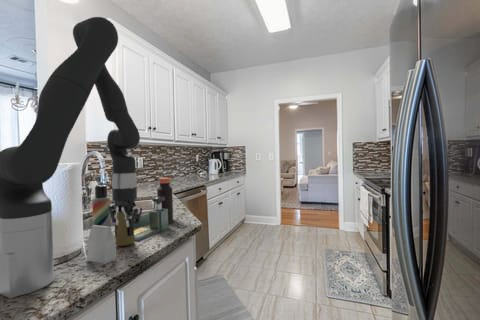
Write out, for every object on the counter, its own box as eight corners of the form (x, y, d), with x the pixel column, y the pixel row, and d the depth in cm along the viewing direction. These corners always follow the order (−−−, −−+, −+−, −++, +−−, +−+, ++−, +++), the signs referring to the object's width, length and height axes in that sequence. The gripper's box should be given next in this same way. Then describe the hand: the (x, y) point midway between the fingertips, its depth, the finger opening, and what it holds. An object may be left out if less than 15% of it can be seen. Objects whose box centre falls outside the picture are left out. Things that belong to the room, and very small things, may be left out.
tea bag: (105, 264, 66) (104, 229, 65) (87, 260, 68) (86, 227, 67) (115, 258, 69) (114, 225, 69) (99, 255, 71) (98, 223, 71)
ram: (159, 219, 92) (158, 199, 92) (150, 218, 94) (149, 198, 94) (167, 216, 97) (166, 196, 97) (158, 215, 99) (158, 196, 99)
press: (138, 241, 83) (138, 218, 83) (115, 236, 88) (114, 215, 88) (169, 227, 97) (169, 209, 97) (147, 224, 102) (147, 206, 102)
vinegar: (157, 223, 104) (156, 179, 104) (158, 219, 111) (157, 177, 110) (172, 222, 106) (171, 178, 105) (173, 218, 113) (172, 177, 112)
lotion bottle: (95, 236, 88) (94, 184, 88) (112, 234, 90) (111, 183, 90) (91, 241, 83) (89, 186, 82) (109, 239, 85) (107, 185, 84)
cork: (127, 246, 76) (126, 212, 76) (111, 245, 77) (110, 212, 77) (138, 239, 82) (138, 208, 82) (123, 238, 83) (123, 208, 83)
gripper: (100, 186, 79) (101, 236, 79) (130, 188, 73) (131, 242, 73) (119, 184, 85) (120, 230, 86) (148, 185, 80) (149, 235, 80)
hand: (125, 235), depth 79 cm, fingers closed on cork, 3 cm apart
